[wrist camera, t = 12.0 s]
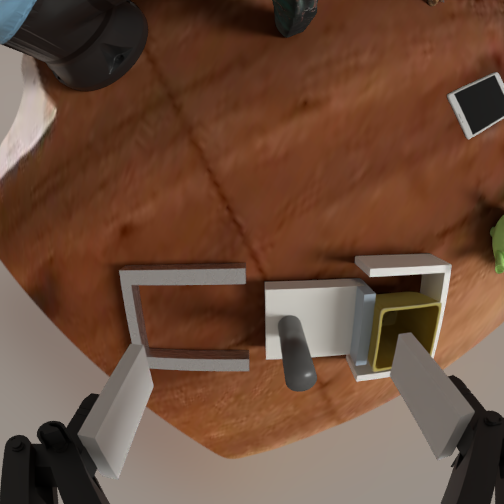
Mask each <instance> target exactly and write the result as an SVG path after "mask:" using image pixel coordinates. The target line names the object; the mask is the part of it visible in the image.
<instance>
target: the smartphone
mask: <svg viewBox="0 0 504 504" xmlns="http://www.w3.org/2000/svg"><path fill="white" fill-rule="evenodd" d="M447 99H448V101H449V102H450V104H451V106H452V109H453V111H454V113H455V115H456V117H457V119H458V121H459V123H460V125H461V128H462V130H463V132H464V134H465V137H466V138H467V139H471V138H472V137H474V136H475V135H477V134H479V133H480V132H482V131H484V130H485V129H487V128H489V127H490V126H492V125H494V124H495V123H497V122H498V121H500V120H502V119H503V118H504V84H503V82H502V80H501V77H500V75H499V74H498V73H497V72H495V73H492V74H490V75H488V76H486V77H483V78H481V79H479V80H477V81H475V82H472V83H470V84H468V85H465V86H463V87H461V88H459V89H457V90H455V91H453V92H451V93H449V94H448V95H447Z"/></svg>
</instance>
